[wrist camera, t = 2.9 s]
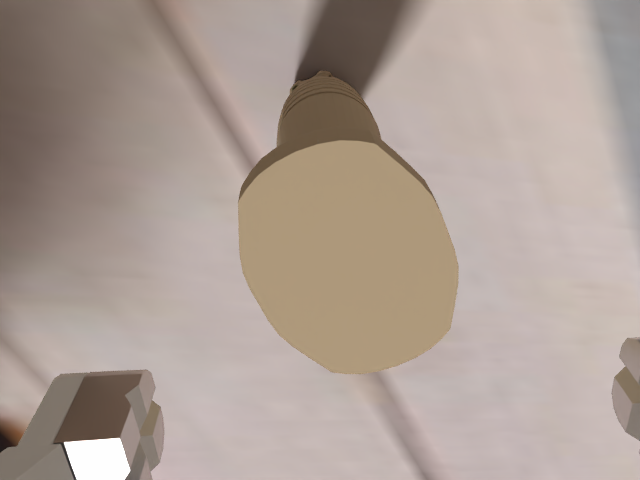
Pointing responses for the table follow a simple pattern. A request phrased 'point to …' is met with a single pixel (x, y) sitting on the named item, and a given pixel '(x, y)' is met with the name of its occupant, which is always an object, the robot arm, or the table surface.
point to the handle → (344, 237)
